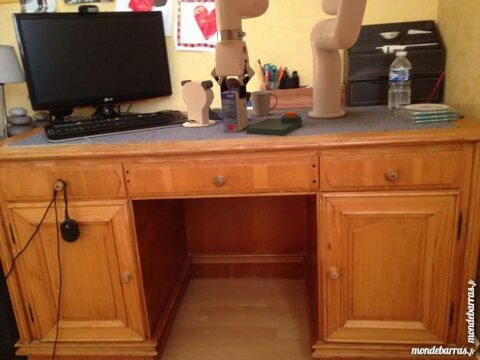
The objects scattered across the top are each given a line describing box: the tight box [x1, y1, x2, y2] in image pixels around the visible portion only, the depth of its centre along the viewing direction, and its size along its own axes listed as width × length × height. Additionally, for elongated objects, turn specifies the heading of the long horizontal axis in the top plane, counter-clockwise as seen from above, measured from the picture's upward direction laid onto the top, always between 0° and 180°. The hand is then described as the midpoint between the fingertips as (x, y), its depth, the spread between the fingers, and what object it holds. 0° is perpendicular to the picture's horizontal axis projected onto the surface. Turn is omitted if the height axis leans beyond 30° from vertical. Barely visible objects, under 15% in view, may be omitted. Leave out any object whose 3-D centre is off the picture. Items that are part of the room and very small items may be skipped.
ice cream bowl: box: [220, 77, 251, 104], centre depth 136 cm, size 11×11×15 cm
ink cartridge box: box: [220, 82, 249, 133], centre depth 123 cm, size 10×6×14 cm, turn 161°
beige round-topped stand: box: [180, 79, 216, 128], centre depth 134 cm, size 12×11×15 cm
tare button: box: [285, 111, 297, 117], centre depth 121 cm, size 3×3×2 cm
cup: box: [250, 90, 279, 117], centre depth 145 cm, size 8×10×8 cm
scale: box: [246, 114, 303, 137], centre depth 120 cm, size 15×13×4 cm
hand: (233, 97), depth 122 cm, fingers closed on ink cartridge box, 5 cm apart
